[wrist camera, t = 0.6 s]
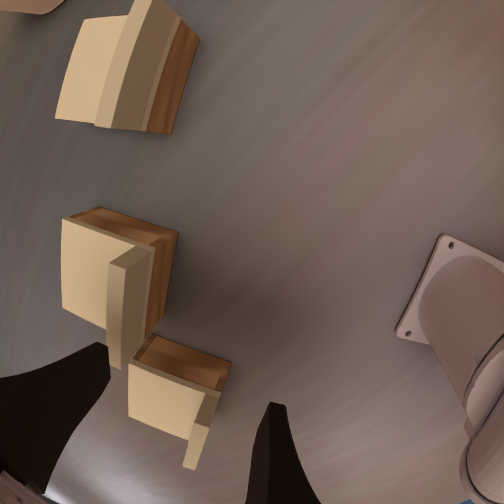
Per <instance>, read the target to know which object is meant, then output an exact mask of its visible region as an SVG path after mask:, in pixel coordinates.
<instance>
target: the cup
mask: <svg viewBox="0 0 504 504" xmlns="http://www.w3.org/2000/svg"><path fill="white" fill-rule="evenodd" d="M63 1H64V0H0V10H2V11H14V12H24V13H32V14H40V15H42V14H46V13H48V12H50V11H52V10H53V9H55V8H56V7H57V6H59V5H60V4H61V3H62V2H63Z"/></svg>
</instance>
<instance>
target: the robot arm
mask: <svg viewBox="0 0 504 504" xmlns="http://www.w3.org/2000/svg"><path fill="white" fill-rule="evenodd" d="M450 242H452V245H451V247H448V244H449V243H450ZM407 331H410V332H409V333H408V334H405V333H406V332H407ZM396 334H397V336H398V337H400V338H404V339H407V340H411V341H415V342H419V343H423V344H427V345H431V347H432V349H433V350H434V352H435V354H436V356H437V358H438V359H439V361H440V363H441V365H442V367H443V368H444V370H445V372H446V374H447V376H448V378H449V380H450V382H451V383H452V385H453V387H454V389H455V391H456V393H457V395H458V397H459V399H460V401H461V403H462V405H463V407H464V409H465V411H466V414H467V420H466V422H465V424H464V427H465V430H466V432H467V434H468V437H469V439H470V441H469V442H468V444H467V445H466V447H465V448H464V451H463V453H462V456H461V459H460V466H459V473H460V480H461V484H462V486H463V488H464V491H465V492H466V494H467V495H468V497H469V498H470V499H471V500H472V501H473V502H474V503H475V504H504V262H502V261H500V260H498V259H496V258H494V257H492V256H490V255H488V254H486V253H484V252H482V251H480V250H478V249H476V248H474V247H472V246H470V245H468V244H466V243H464V242H461V241H459V240H457V239H455V238H453V237H451V236H448V235H446V234H444V235H441V236H440V237H439V239H438V241H437V244H436V246H435V249H434V251H433V254H432V256H431V258H430V261H429V263H428V265H427V268H426V270H425V272H424V274H423V276H422V279H421V281H420V283H419V285H418V287H417V289H416V291H415V293H414V295H413V297H412V299H411V301H410V303H409V305H408V307H407V309H406V311H405V313H404V315H403V317H402V319H401V321H400V322H399V324H398V326H397V328H396ZM110 379H111V375H110V363H109V350H108V346H105V345H103V344H101V343H99V342H96V343H93V344H91V345H89V346H87V347H85V348H83V349H81V350H79V351H77V352H75V353H73V354H71V355H69V356H67V357H65V358H63V359H61V360H58V361H56V362H54V363H51V364H49V365H46V366H44V367H42V368H39V369H36V370H33V371H30V372H26V373H23V374H19V375H14V376H9V377H4V378H0V504H23V502H24V503H26V504H47V503H46V502H45V501H43V500H42V499H40V498H39V497H37V496H36V495H35V494H33V493H32V492H31V491H29V490H28V489H27V488H25V487H24V486H27V487H28V488H30V489H31V490H32V491H34V492H35V493H36V494H45V491H46V488H47V485H48V482H49V479H50V477H51V474H52V472H53V470H54V467H55V465H56V463H57V461H58V459H59V457H60V455H61V453H62V451H63V449H64V447H65V445H66V443H67V442H68V440H69V438H70V436H71V435H72V433H73V432H74V430H75V429H76V427H77V426H78V425H79V423H80V422H81V421H82V419H83V418H84V417H85V416H86V414H87V413H88V412H89V410H90V409H91V408H92V407H93V405H94V404H95V403H96V401H97V400H98V399H99V397H100V396H101V395H102V393H103V391H104V390H105V388H106V386H107V384H108V383H109V381H110ZM19 482H20V483H22V484H23V485H24V486H23V485H21V484H20V483H19ZM22 501H23V502H22ZM245 504H321V503H320V501H319V500H318V498H317V497H316V495H315V493H314V491H313V489H312V487H311V486H310V483H309V481H308V479H307V477H306V475H305V473H304V470H303V468H302V466H301V463H300V460H299V458H298V455H297V452H296V449H295V445H294V442H293V439H292V435H291V431H290V427H289V422H288V417H287V411H286V407H285V405H282V404H278V403H274V402H270V403H269V405H268V407H267V409H266V412H265V414H264V416H263V418H262V421H261V423H260V425H259V427H258V430H257V434H256V438H255V442H254V446H253V451H252V459H251V468H250V476H249V484H248V492H247V498H246V502H245Z"/></svg>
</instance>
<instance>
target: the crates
mask: <svg viewBox="0 0 504 504" xmlns="http://www.w3.org/2000/svg"><path fill="white" fill-rule="evenodd" d="M199 40H200V38H199V37H198V36H197V35H196V34H195V33H194V32H193V31H192V30H191V29H190V28H189V27H188V26H187V25H186V24H185V23H184V22H183V21H182V20H180V23H179V25H178V28H177V31H176V33H175V36H174V39H173V42H172V44H171V47H170V50H169V53H168V56H167V59H166V62H165V65H164V68H163V71H162V74H161V78H160V81H159V84H158V88H157V91H156V95H155V98H154V102H153V105H152V109H151V113H150V117H149V120H148V124H147V128H146V131H148V132H157V133H166V134H171V133H172V129H173V125H174V121H175V118H176V114H177V110H178V107H179V103H180V100H181V96H182V93H183V89H184V86H185V83H186V80H187V76H188V73H189V70H190V67H191V64H192V61H193V58H194V55H195V52H196V49H197V46H198V43H199ZM69 217H70V218H73V219H75V220H78V221H81V222H84V223H86V224H89V225H92V226H95V227H98V228H100V229H103V230H106V231H109V232H112V233H114V234H117V235H120V236H123V237H126V238H129V239H131V240H134V241H137V242H140V243H143V244H146V245H149V246H152V247H154V248H156V249H155V255H154V262H153V268H152V275H151V283H150V290H149V298H148V306H147V315H146V325H145V335H144V339H145V338H146V337H147V336H148V334H149V333H150V332H151V331H152V329H153V328H154V327H155V325H156V324H157V323H158V322H159V320H160V319H161V318H162V317H163V315H164V309H165V302H166V296H167V290H168V284H169V278H170V272H171V267H172V261H173V256H174V251H175V245H176V240H177V235H178V232H176V231H173V230H169V229H166V228H163V227H160V226H157V225H154V224H151V223H148V222H144V221H141V220H138V219H135V218H132V217H129V216H126V215H123V214H119V213H116V212H113V211H110V210H107V209H104V208H101V207H95V208H92V209H89V210H86V211H83V212H80V213H78V214H75V215H72V216H69ZM133 359H135V360H137V361H140V362H142V363H144V364H147V365H149V366H151V367H154V368H156V369H159V370H161V371H164V372H166V373H169V374H171V375H174V376H176V377H179V378H182V379H184V380H187V381H190V382H193V383H195V384H198V385H201V386H204V387H207V388H210V389H213V390H216V391H219V392H222V389H223V386H224V383H225V380H226V377H227V374H228V371H229V368H230V365H231V362H229V361H226V360H223V359H220V358H217V357H214V356H211V355H208V354H205V353H202V352H199V351H196V350H194V349H191V348H188V347H185V346H183V345H180V344H177V343H175V342H172V341H169V340H167V339H164V338H162V337H159V336H157V335H154V334H151V335H150V336H149V337H148V339H147V340H146V341H145V343H144V344H143V345H142V347H141V348H140V349H139V351H138V352H137V353H136V354H135V356H134V357H133Z"/></svg>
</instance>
